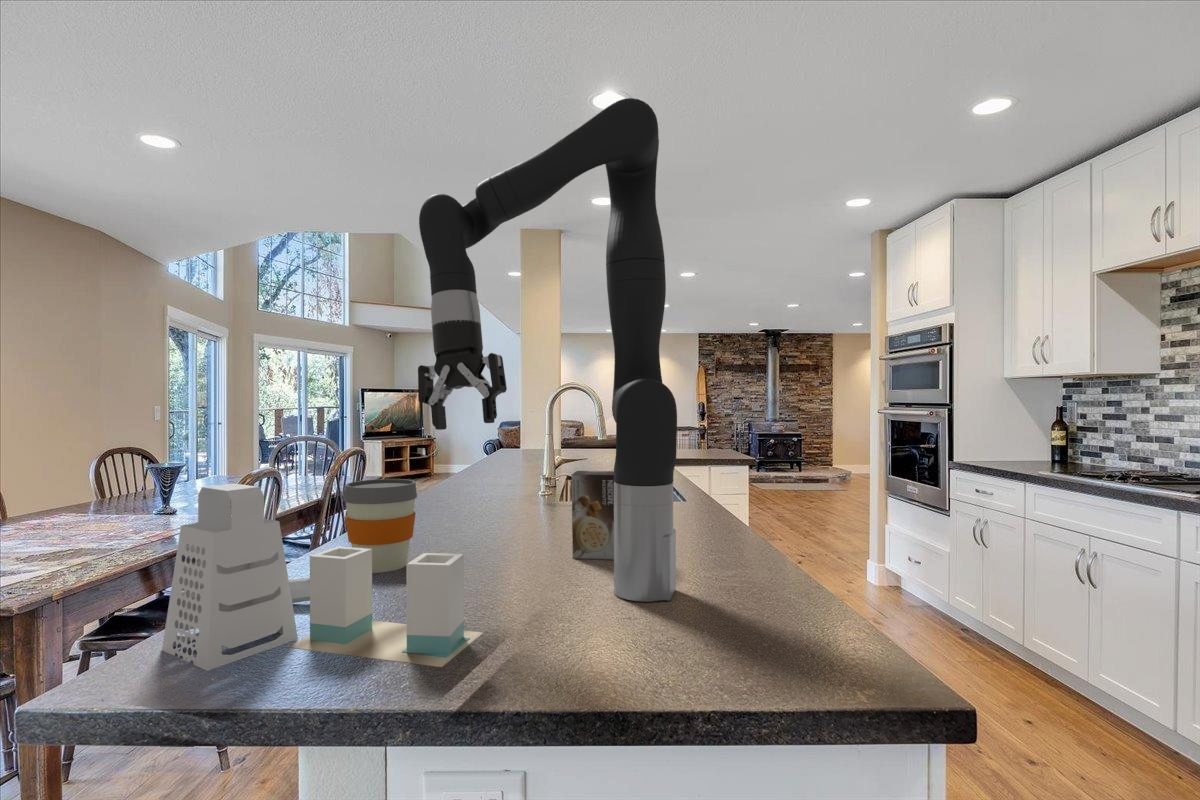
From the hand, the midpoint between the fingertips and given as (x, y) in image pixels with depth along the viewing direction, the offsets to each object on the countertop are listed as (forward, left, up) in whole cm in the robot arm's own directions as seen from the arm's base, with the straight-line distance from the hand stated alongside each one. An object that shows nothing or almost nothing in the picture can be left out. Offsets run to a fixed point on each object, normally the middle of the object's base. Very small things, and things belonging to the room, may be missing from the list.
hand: (464, 426), depth 96 cm
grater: (+15, +28, -26) cm, 42 cm away
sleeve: (-8, +22, -24) cm, 34 cm away
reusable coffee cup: (+22, -11, -26) cm, 36 cm away
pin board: (-2, +22, -26) cm, 34 cm away
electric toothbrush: (+22, +16, -26) cm, 38 cm away
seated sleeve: (+5, +22, -25) cm, 33 cm away
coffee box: (-13, -28, -26) cm, 41 cm away
